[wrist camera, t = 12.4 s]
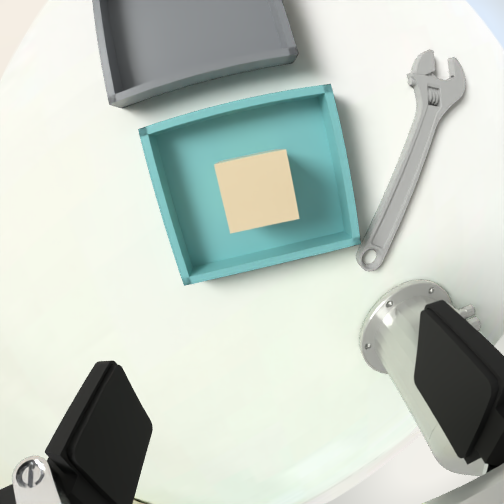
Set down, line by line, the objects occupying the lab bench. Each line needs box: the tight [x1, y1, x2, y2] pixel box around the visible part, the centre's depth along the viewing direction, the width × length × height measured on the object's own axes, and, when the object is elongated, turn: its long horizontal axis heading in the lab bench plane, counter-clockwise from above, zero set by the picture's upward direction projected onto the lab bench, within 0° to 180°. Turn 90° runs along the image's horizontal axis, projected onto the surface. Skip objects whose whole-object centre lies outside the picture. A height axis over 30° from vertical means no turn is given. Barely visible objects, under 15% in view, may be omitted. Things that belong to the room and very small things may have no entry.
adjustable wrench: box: [356, 50, 465, 271], centre depth 27 cm, size 25×6×2 cm, turn 154°
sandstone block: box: [214, 149, 299, 234], centre depth 24 cm, size 5×5×6 cm
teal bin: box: [138, 84, 361, 286], centre depth 26 cm, size 16×14×3 cm
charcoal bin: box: [92, 0, 298, 108], centre depth 21 cm, size 16×14×3 cm
